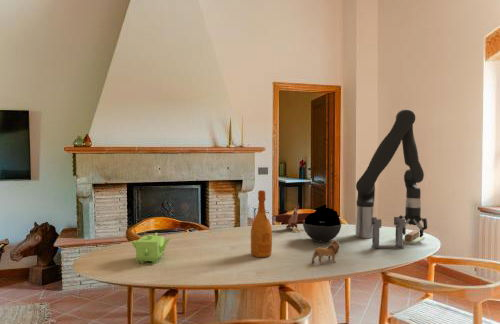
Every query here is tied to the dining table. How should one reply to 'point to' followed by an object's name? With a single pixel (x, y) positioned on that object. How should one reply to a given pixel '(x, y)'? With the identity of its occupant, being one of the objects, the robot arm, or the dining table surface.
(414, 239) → the sage mat
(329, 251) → the lion figurine
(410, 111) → the robot arm
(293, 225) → the decorative bird
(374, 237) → the cradle stand
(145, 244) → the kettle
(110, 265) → the dining table surface
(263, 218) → the wine bottle
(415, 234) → the walnut rail
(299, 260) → the dining table surface
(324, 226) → the bowl of black rocks
